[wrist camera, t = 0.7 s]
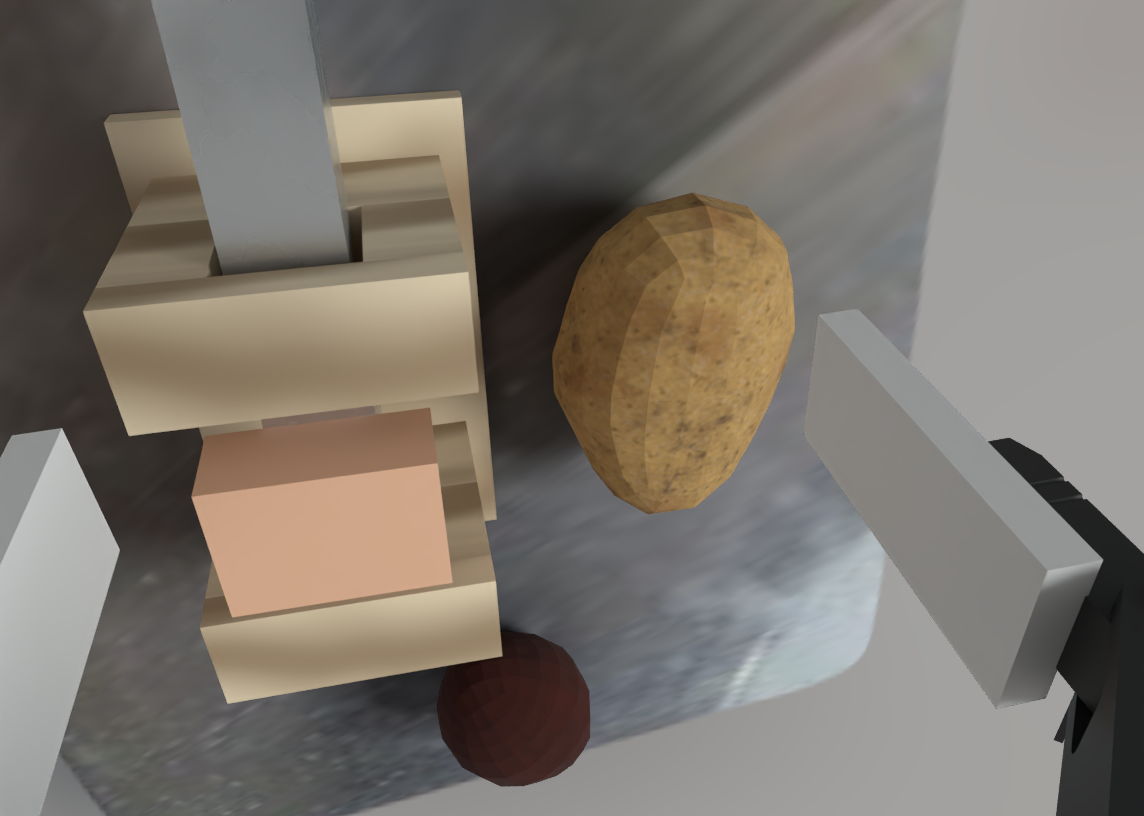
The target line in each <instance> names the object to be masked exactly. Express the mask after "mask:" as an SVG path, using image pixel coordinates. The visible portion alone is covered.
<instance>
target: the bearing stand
mask: <svg viewBox="0 0 1144 816" xmlns="http://www.w3.org/2000/svg"><path fill="white" fill-rule="evenodd" d="M330 102H331V108H332V114H333V120H334V126H335V132H336V138H337V144H338V150H339V156H340V162H341V168H342V174H343V180H344V186H345V192H346V198H347V204H348V210H349V216H350V222H351V228H352V235H353V241H354V247H355V253H356V259H357V262H356V263H346V264H336V265H326V266H316V267H306V268H296V269H285V270H275V271H265V272H255V273H245V274H235V275H225V276H223V274H222V270H221V266H220V262H219V258H218V254H217V251H216V247H215V243H214V239H213V235H212V232H211V228H210V224H209V220H208V216H207V212H206V209H205V205H204V201H203V197H202V193H201V190H200V186H199V182H198V178H197V174H196V170H195V167H194V163H193V159H192V155H191V151H190V148H189V144H188V140H187V136H186V132H185V128H184V125H183V121H182V117H181V113H180V110H167V111H153V112H139V113H125V114H110V115H109V117H108V118H107V119H106V121H105V122H104V126H105V129H106V132H107V135H108V138H109V142H110V145H111V148H112V151H113V154H114V158H115V161H116V164H117V167H118V170H119V174H120V177H121V180H122V183H123V186H124V190H125V193H126V196H127V199H128V202H129V206H130V209H131V212H132V215H133V216H132V218H131V220H130V222H129V224H128V226H127V228H126V229H125V231H124V233H123V235H122V237H121V239H120V241H119V243H118V245H117V247H116V249H115V251H114V253H113V255H112V256H111V258H110V260H109V262H108V264H107V266H106V268H105V270H104V272H103V274H102V276H101V278H100V280H99V281H98V283H97V285H96V287H95V289H94V291H93V293H92V295H91V297H90V299H89V301H88V303H87V305H86V306H85V308H84V310H83V313H84V316H85V319H86V322H87V324H88V327H89V330H90V332H91V335H92V338H93V340H94V343H95V346H96V349H97V351H98V354H99V357H100V359H101V362H102V365H103V367H104V370H105V373H106V376H107V378H108V381H109V384H110V386H111V389H112V392H113V394H114V397H115V400H116V403H117V405H118V408H119V411H120V413H121V416H122V419H123V422H124V424H125V427H126V430H127V432H128V435H129V436H133V435H141V434H149V433H157V432H165V431H173V430H181V429H189V428H197V427H199V430H200V433H201V436H202V439H203V443H204V439H205V436H208V435H216V434H224V433H232V432H240V431H248V430H256V429H263V426H262V423H261V420H262V419H270V418H278V417H286V416H294V415H302V414H310V413H318V412H326V411H334V410H342V409H350V408H358V407H366V406H374V405H381V409H382V414H383V413H391V412H399V411H407V410H415V409H422V408H430V410H431V418H432V425H433V433H434V440H435V448H436V455H437V463H438V471H439V478H440V486H441V494H442V502H443V510H444V518H445V525H446V533H447V541H448V549H449V557H450V565H451V573H452V580H453V583H448V584H441V585H435V586H429V587H422V588H416V589H410V590H403V591H397V592H391V593H384V594H378V595H372V596H365V597H359V598H353V599H346V600H340V601H334V602H327V603H321V604H315V605H309V606H302V607H296V608H290V609H283V610H277V611H271V612H264V613H258V614H252V615H245V616H239V617H233V618H232V616H231V613H230V610H229V607H228V604H227V601H226V598H225V595H224V592H223V589H222V586H221V583H220V580H219V577H218V574H217V571H216V568H215V565H214V562H213V560H212V563H211V569H210V575H209V580H208V586H207V591H206V597H205V602H204V608H203V613H202V619H201V625H200V630H201V632H202V635H203V638H204V641H205V643H206V646H207V649H208V651H209V654H210V657H211V659H212V662H213V665H214V668H215V670H216V673H217V676H218V678H219V681H220V684H221V686H222V689H223V692H224V695H225V697H226V700H227V703H228V704H229V703H234V702H240V701H246V700H252V699H257V698H263V697H269V696H275V695H281V694H286V693H292V692H298V691H304V690H310V689H315V688H321V687H327V686H333V685H339V684H344V683H350V682H356V681H362V680H367V679H373V678H379V677H385V676H391V675H396V674H402V673H408V672H414V671H420V670H425V669H431V668H437V667H443V666H449V665H454V664H460V663H466V662H472V661H477V660H483V659H489V658H495V657H501V656H502V645H501V634H500V623H499V612H498V600H497V589H496V580H495V574H494V569H493V564H492V558H491V553H490V548H489V542H488V537H487V532H486V526H485V521H488V520H495V519H497V518H496V506H495V495H494V483H493V471H492V459H491V447H490V435H489V423H488V411H487V399H486V387H485V375H484V363H483V351H482V339H481V327H480V315H479V303H478V291H477V279H476V267H475V255H474V243H473V231H472V219H471V207H470V195H469V183H468V171H467V159H466V147H465V135H464V123H463V111H462V99H461V95H460V93H459V90H453V91H439V92H424V93H410V94H396V95H382V96H367V97H353V98H339V99H330Z"/></svg>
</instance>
